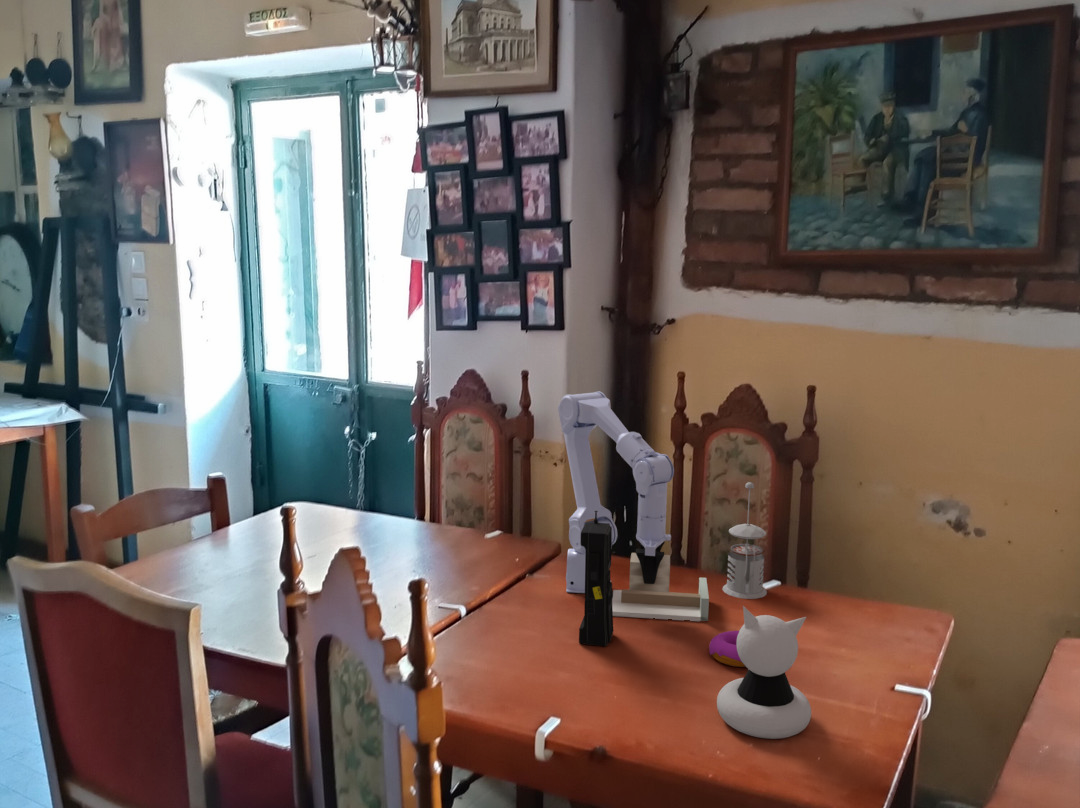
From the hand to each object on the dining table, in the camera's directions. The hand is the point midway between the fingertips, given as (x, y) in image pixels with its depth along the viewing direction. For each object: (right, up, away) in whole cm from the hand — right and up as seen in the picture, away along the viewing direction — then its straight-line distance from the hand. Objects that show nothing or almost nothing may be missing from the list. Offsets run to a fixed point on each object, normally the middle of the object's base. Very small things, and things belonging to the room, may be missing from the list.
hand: (649, 577), depth 183 cm
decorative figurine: (+14, -16, -39) cm, 44 cm away
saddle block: (0, -2, 0) cm, 2 cm away
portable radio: (-12, -10, -10) cm, 18 cm away
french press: (+23, -6, +15) cm, 29 cm away
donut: (+14, -12, -17) cm, 26 cm away
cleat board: (+3, -8, +6) cm, 10 cm away
